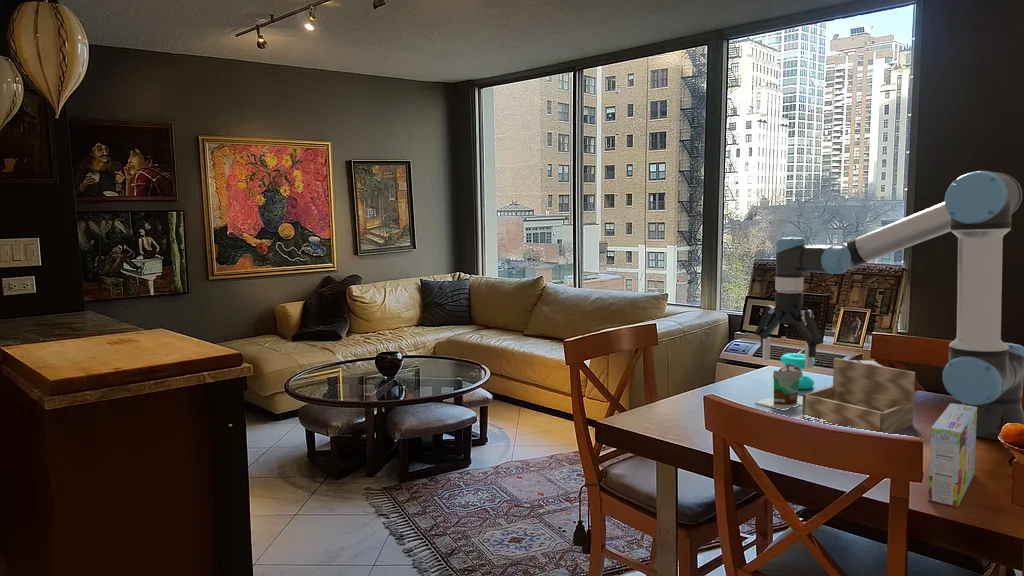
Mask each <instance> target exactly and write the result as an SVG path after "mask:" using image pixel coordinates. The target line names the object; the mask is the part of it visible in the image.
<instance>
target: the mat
mask: <svg viewBox="0 0 1024 576" xmlns="http://www.w3.org/2000/svg"><path fill="white" fill-rule="evenodd" d="M754 404H755V405H759V406H763V407H766V406H767V408H770V407H774V408H779V409H786V408H790V407H793V406H796V405H800V404H803V395H799V394H798V398H797V403H795V404H791V405H780V404H774V396H771V397H768V398H765V399H764V398H763V399H760V400H758V401H755V402H754Z"/></svg>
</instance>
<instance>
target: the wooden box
mask: <svg viewBox="0 0 1024 576" xmlns="http://www.w3.org/2000/svg"><path fill="white" fill-rule="evenodd" d="M849 360H850V359H844V358H838V357H834V358H833V372H832V373H833V377H832V385H831V386H827V387H823V388H820V389H817V390H814V391H811V392H806V393H804V394H802V396H803V405H801V406H802V407H801V408H802V409H801V414H800V416H799V415H797V416H798V417H797V418H800V419H804V420H808V421H813V420H809V419H811V418H807V419H805V418H806V417H804V415H808V416H811V417H815V418H818V419H823V420H826V421H823V424H829V423H832V424H829V425H836V424H838V425H837V426H843V427H848V426H849V428H856V429H864V430H870V431H876V432H883V433H891V434H893V433H896V432H898V431H900V430H899V429H901V430H903V429H906V428H909V427H911V426H913V421H914V417H913V416H914V405H915V387H916V386H915V385H916V371H910V370H904V369H899V368H892V367H887V366H883V365H881V366H877V365H872V364H866V363H860V362H855V361H849ZM802 414H803V416H801V415H802ZM814 420H817V419H814ZM819 421H820V420H817V421H815V422H819ZM825 422H828V423H825ZM819 423H822V422H819ZM850 426H851V427H850ZM857 427H858V428H857ZM905 427H906V428H905ZM902 428H903V429H902ZM897 430H898V431H897Z"/></svg>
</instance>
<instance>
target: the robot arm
mask: <svg viewBox="0 0 1024 576" xmlns="http://www.w3.org/2000/svg"><path fill="white" fill-rule="evenodd" d="M1022 200H1023V189H1022V186H1021V184H1020V183H1019V182H1018V180H1017V179H1015V178H1014V177H1012V176H1011V175H1009V174H1007V173H1005V172H1004V173H1003V172H998V171H997V172H996V171H995V172H994V171H989V170H978V171H971V172H968V173H966V174H963V175H960V176H959V177H957V178H956V179H955V180H954V181H952V182H951V184H950V185H949V186H948V188H947V190H946V192H945V194H944V201H943V202H941V203H938V204H935V205H933V206H931V207H929V208H925V209H924V210H921V211H918V212H916V213H913V214H911V215H908V216H907V217H904V218H901V219H899V220H897V221H894V222H893V223H889V224H887V225H884V226H883V227H880V228H877V229H874V230H872V231H870V232H867V233H864V234H862V235H860V236H858V237H856V238H853V239H850V240H848V241H845V242H843V243H836V244H826V245H818V244H817V245H809V244H806V243H807V242H806V239H805V238H804V237H780V238H778V240H777V241H776V251H775V278H774V279H775V281H774V282H775V283H774V284H775V285H774V290H775V291H776V292H775V293H774V304H775V306H774V305H772V304H770V305H766V306H765V307H764V313H763V315H762V317H761V319H760V322H759V323H758V325H757V327H756V329H755V331H754V335H755V336H758V337H760V348H761V349H762V361H768V360H771V342H772V341H771V337H770V335H771V334H772V333H773V331H774V330H776V328H777V327H778V326H779V325H780V324H789V325H793V326H794V327H795V328H796V329H797V330H798V331H799V334H801V336H802V337H803V340H804V341H805V342H806V343H807V345H805V350H804V354H805V369H806V370H808V369H812V368H814V367H813V366H814V365H813V358H815V357H816V353H817V345H822V344H823V343H824V340H823V337H822V335H821V333H820V330H819V327H818V326H817V323H816V320H815V318H814V310H812V309H808V310H803V304H804V293H803V291H804V280H805V276H804V275H805V272H806V273H808V272H810V273H819V274H820V273H821V274H829V275H835V274H836V275H837V274H838V275H839V274H842V275H843V274H845V273H846V272H847V271H848V270H854V269H857V268H859V267H861V266H863V265H865V264H867V263H869V262H871V261H874V260H876V259H880V258H882V257H883V258H884V257H885V256H887V255H891V254H893V253H896V252H899V251H901V250H903V249H906V248H908V247H909V248H910V247H912V246H914V245H918V244H919V243H923V242H925V241H928V240H930V239H933V238H936V237H939V236H941V235H943V234H947V233H949V232H951V233H952V234H954V235H955V236H956V238H957V287H956V288H957V289H956V290H957V291H956V292H957V293H956V295H957V296H956V297H957V298H956V337H955V338H954V340H952V341H951V342H949V344H948V345H949V346H948V362H947V363H946V365H945V367H944V368H943V370H942V376H941V377H942V383H943V386H944V388H945V390H946V391H947V392H948V393H949V394H950V395H951V396H952V397H953V398H954V399H955V400H957V401H959V402H961V403H962V404H961V405H968V406H974V407H977V424H976V438H977V437H978V438H982V439H988V440H993V441H995V440H996V441H999V440H998V436H999V434H1000V432H1001V429H1002V427H1003V426H1004V425H1005V424H1007V423H1020V424H1024V408H1023V406H1022V403H1023V402H1022V401H1023V400H1022V399H1023V390H1024V389H1023V388H1024V346H1023V345H1021V344H1018V343H1017V344H1015V343H1012V342H1004V341H1003V340H1002V339H1001V338H1002V337H1001V336H1002V334H1001V333H1002V300H1003V299H1002V291H1003V247H1004V246H1003V242H1004V240H1003V238H1004V236H1005V235H1006V234H1008V233H1009V232H1010V231H1011V230H1012V216H1013V215H1012V214H1014V213H1015V211H1017V210H1018V208H1019V207H1020V205H1021V203H1022ZM773 314H775V316H774V317H773V319H772V321H770V320H771V318H772V316H773ZM802 317H803V318H804V319H803V318H802ZM769 322H770V323H769Z"/></svg>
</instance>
